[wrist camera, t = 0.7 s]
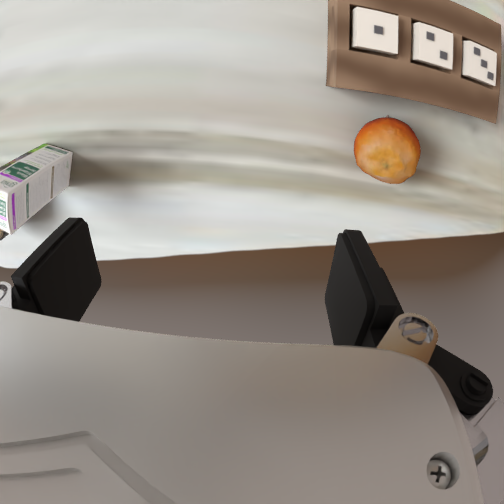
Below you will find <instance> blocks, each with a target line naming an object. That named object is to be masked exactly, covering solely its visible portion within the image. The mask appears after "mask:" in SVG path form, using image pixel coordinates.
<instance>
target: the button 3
mask: <svg viewBox="0 0 504 504" xmlns="http://www.w3.org/2000/svg"><path fill="white" fill-rule="evenodd" d="M496 63H497V53H496V52H494V51H492V50H490V49H488V48H485V47H483V46H481V45H479V44H477V43H474V42H472V41H462V65H461V75H463V76H465V77H468V78H471V79H474V80H476V81H479V82H481V83H484V84H487V85H492V86H495V83H496Z"/></svg>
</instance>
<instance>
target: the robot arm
mask: <svg viewBox="0 0 504 504" xmlns="http://www.w3.org/2000/svg"><path fill="white" fill-rule="evenodd" d="M11 278H12V280H13V283H14V286H13V288H12V287H11V285H10V284H9V283H7V282H0V504H500V503H501V502H502V500H503V499H504V402H503V401H501V399H500V398H498V399H497V400H494V398H493V397H492V395H493V389H492V385H491V382H490V380H489V379H488V378H487V376H486V375H485V374H484V373H482V372H481V371H480V370H478V369H476V368H475V367H473V366H471V365H470V364H468V363H466V362H465V361H463V360H461V359H460V358H458V357H457V356H455V355H453V354H451V353H450V352H448V351H446V350H445V349H443V348H441V347H440V346H438V345H436V343H437V341H438V333H437V329H436V328H435V326H434V325H433V324H432V323H431V322H430V321H429V320H428V319H426V318H425V317H423V316H420V315H418V314H414V313H404V312H403V310H402V307H401V305H400V303H399V301H398V299H397V297H396V295H395V293H394V290H393V288H392V286H391V284H390V282H389V280H388V278H387V276H386V274H385V272H384V270H383V269H382V268H380V267H379V265H378V263H377V261H376V259H375V257H374V255H373V253H372V251H371V249H370V247H369V245H368V243H367V241H366V240H365V238H364V236H363V234H362V232H361V231H359V230H344V232H343V233H339V234H338V237H337V242H336V247H335V252H334V257H333V262H332V266H331V271H330V276H329V280H328V284H327V289H326V293H325V304H326V309H327V314H328V319H329V323H330V328H331V333H332V338H333V343H334V345H316V344H285V343H262V342H244V341H230V340H218V339H217V340H216V339H206V338H195V337H184V336H175V335H166V334H158V333H149V332H142V331H134V330H127V329H120V328H113V327H107V326H100V325H94V324H88V323H82V322H79V321H80V319H81V317H82V316H83V314H84V313H85V311H86V309H87V308H88V306H89V304H90V303H91V301H92V299H93V298H94V296H95V295H96V293H97V291H98V290H99V288H100V286H101V276H100V273H99V269H98V265H97V261H96V257H95V253H94V249H93V245H92V241H91V237H90V232H89V228H88V224H87V222H85V221H84V220H83V219H82V218H68V219H67V220H66V221H65V222H64V223H62V224H61V225H60V226H59V227H58V228H57V229H56V230H55V231H54V232H53V233H52V234H51V235H50V236H49V237H48V238H47V239H46V240H45V241H44V242H43V243H42V244H41V245H40V246H39V247H38V248H37V249H36V250H35V251H34V252H33V253H32V254H31V255H30V256H29V257H28V258H27V259H26V260H25V261H24V262H23V264H22V265H21V266H20V267H19V268H18V269H17V270H16V271H15V272H14V274H13V275H12V276H11Z"/></svg>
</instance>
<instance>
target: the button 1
mask: <svg viewBox="0 0 504 504" xmlns="http://www.w3.org/2000/svg"><path fill="white" fill-rule="evenodd" d="M351 47H352V48H358V49H364V50H369V51H374V52H380V53H384V54H389V55H394V54H398V16H396V15H392V14H388V13H384V12H380V11H376V10H371V9H366V8H361V7H356V8H354V9H353V10H352V36H351Z"/></svg>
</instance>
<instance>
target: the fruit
mask: <svg viewBox="0 0 504 504" xmlns="http://www.w3.org/2000/svg"><path fill="white" fill-rule="evenodd" d="M420 152H421V150H420V144H419V140H418V139H417V137H416V135H415V133H414V132H413V130H412V129H411V128H410V126H409V125H407V124H406V123H404V122H402V121H400V120H398V119H395V118H389V117H388V115H387V117H386V118H378V119H375V120H373V121H370V122H368V123H367V124H365V125H364V126H363V128H362V129H361V130H360V131H359V133H358V135H357V137H356V139H355V142H354V155H355V158H356V163H357V165H358V166H359V167H360V168H361V169H362V171H363V172H365V173H367V174H369V175H371V176H372V177H374V178H375V179H378V180H380V181H382V182H386V183H390V184H399V183H402V182H404V181H405V180H406V179H407V178H409V177H411V176H413V174H414V173H415V171H416V167H417V164H418V161H419V158H420Z"/></svg>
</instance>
